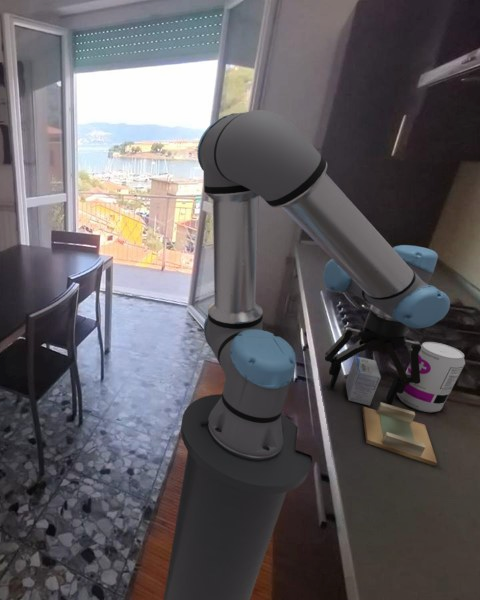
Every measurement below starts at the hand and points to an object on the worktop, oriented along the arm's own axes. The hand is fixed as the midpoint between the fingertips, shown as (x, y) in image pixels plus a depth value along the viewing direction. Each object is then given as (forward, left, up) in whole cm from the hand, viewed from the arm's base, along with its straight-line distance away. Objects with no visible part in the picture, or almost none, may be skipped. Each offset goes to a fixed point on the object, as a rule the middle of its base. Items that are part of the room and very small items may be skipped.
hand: (359, 393), depth 89 cm
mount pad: (+6, -12, -1) cm, 13 cm away
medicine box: (0, 0, -1) cm, 1 cm away
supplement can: (+12, +4, -1) cm, 13 cm away
